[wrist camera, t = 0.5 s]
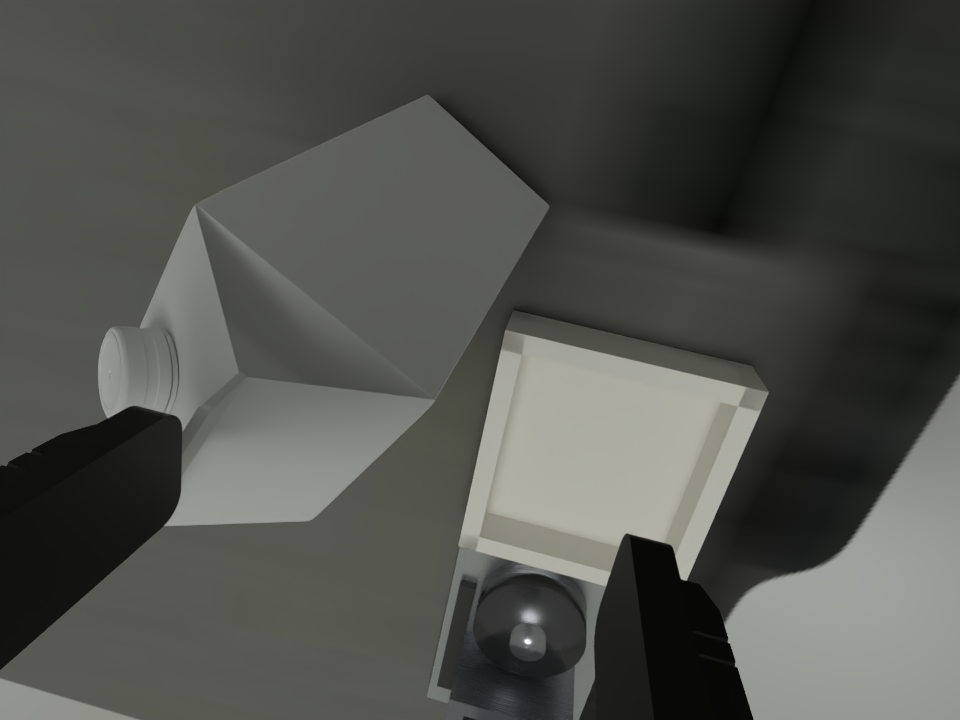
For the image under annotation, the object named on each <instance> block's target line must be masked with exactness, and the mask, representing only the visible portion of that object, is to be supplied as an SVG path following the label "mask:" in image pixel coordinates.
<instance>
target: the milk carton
mask: <svg viewBox="0 0 960 720" xmlns="http://www.w3.org/2000/svg"><path fill="white" fill-rule="evenodd" d="M548 209H549V205H548V204H547V203H546V202H545V201H544V200H543V199H542V198H541V197H540V196H539V195H537V194H536V193H535V192H534V191H533V190H532V189H531V188H530V187H529V186H528V185H527V184H525V183H524V182H523V181H522V180H521V179H520V178H519V177H518V176H517V175H516V174H514V173H513V172H512V171H511V170H510V169H509V168H508V167H507V166H506V165H505V164H504V163H502V162H501V161H500V160H499V159H498V158H497V157H496V156H495V155H494V154H493V153H492V152H490V151H489V150H488V149H487V148H486V147H485V146H484V145H483V144H482V143H481V142H480V141H478V140H477V139H476V138H475V137H474V136H473V135H472V134H471V133H470V132H469V131H468V130H466V129H465V128H464V127H463V126H462V125H461V124H460V123H459V122H458V121H457V120H456V119H454V118H453V117H452V116H451V115H450V114H449V113H448V112H447V111H446V110H445V109H443V108H442V107H441V106H440V105H439V104H438V103H437V102H436V101H435V100H434V99H433V98H431V97H430V96H429V95H425V96H423V97H421V98H419V99H417V100H414V101H412V102H410V103H408V104H406V105H404V106H402V107H399V108H397V109H395V110H393V111H391V112H389V113H387V114H384V115H382V116H380V117H378V118H376V119H374V120H372V121H369V122H367V123H365V124H363V125H361V126H359V127H357V128H354V129H352V130H350V131H348V132H346V133H344V134H342V135H339V136H337V137H335V138H333V139H331V140H329V141H327V142H324V143H322V144H320V145H318V146H316V147H314V148H312V149H309V150H307V151H305V152H303V153H301V154H299V155H297V156H294V157H292V158H290V159H288V160H286V161H284V162H282V163H279V164H277V165H275V166H273V167H271V168H269V169H267V170H264V171H262V172H260V173H258V174H256V175H254V176H252V177H249V178H247V179H245V180H243V181H241V182H239V183H237V184H234V185H232V186H230V187H228V188H226V189H224V190H222V191H220V192H218V193H216V194H214V195H212V196H210V197H208V198H206V199H204V200H202V201H201V202H199V203H197V204H196V205H195V206H194V207H193V208H192V210H191V212H190V214H189V216H188V219H187V221H186V223H185V225H184V227H183V229H182V231H181V234H180V236H179V238H178V240H177V242H176V245H175V247H174V249H173V252H172V254H171V256H170V259H169V261H168V263H167V266H166V268H165V270H164V273H163V275H162V277H161V280H160V282H159V284H158V287H157V289H156V291H155V293H154V296H153V298H152V300H151V303H150V305H149V307H148V310H147V312H146V314H145V316H144V319H143V321H142V323H141V326H140V328H136V327H121V326H114V327H112V328H111V329H109V330H108V332H107V333H106V335H105V338H104V340H103V343H102V346H101V350H100V355H99V363H98V383H99V393H100V399H101V403H102V407H103V410H104V412H105V414H106V416H107V418H109V417H111V416H113V415H115V414H117V413H119V412H120V411H122V410H124V409H126V408H128V407H130V406H140V407H143V408H147V409H151V410H155V411H159V412H163V413H167V414H171V415H174V416H177V417H178V418H179V419H180V421H181V424H182V474H181V495H180V499H179V502H178V505H177V507H176V509H175V512H174V513H173V515H172V517H171V518H170V520H169V521H168V522H167V523H166V524H165V525H164V526H182V525H210V524H239V523H267V522H296V521H310V520H312V519H313V518H314V517H316V516H317V515H318V514H319V513H320V512H321V511H322V510H323V509H324V508H326V507H327V506H328V505H329V504H330V503H331V502H332V501H333V500H334V499H335V498H336V497H337V496H338V495H339V494H340V493H341V492H342V491H343V490H344V489H345V488H346V487H347V486H349V485H350V484H351V483H352V482H353V481H354V480H355V479H356V478H357V477H358V476H359V475H360V474H361V473H362V472H363V471H364V470H365V469H366V468H367V467H368V466H369V465H370V464H372V463H373V462H374V461H375V460H376V459H377V458H378V457H379V456H380V455H381V454H382V453H383V452H384V451H385V450H386V449H387V448H388V447H389V446H390V445H391V444H392V443H393V442H394V441H396V440H397V439H398V438H399V437H400V436H401V435H402V434H403V433H404V432H405V431H406V430H407V429H408V428H409V427H410V426H411V425H412V424H413V423H414V422H415V421H416V420H417V419H418V418H419V417H421V416H422V415H423V414H424V413H425V412H426V411H427V410H428V409H429V408H430V407H431V405H432V404H433V403H434V402H435V400H436V398H437V397H438V395H439V393H440V392H441V390H442V388H443V386H444V385H445V383H446V381H447V380H448V378H449V376H450V375H451V373H452V371H453V370H454V368H455V366H456V365H457V363H458V361H459V359H460V358H461V356H462V354H463V353H464V351H465V349H466V348H467V346H468V344H469V343H470V341H471V339H472V338H473V336H474V334H475V332H476V331H477V329H478V327H479V326H480V324H481V322H482V321H483V319H484V317H485V316H486V314H487V312H488V310H489V309H490V307H491V305H492V304H493V302H494V300H495V299H496V297H497V295H498V294H499V292H500V290H501V289H502V287H503V285H504V283H505V282H506V280H507V278H508V277H509V275H510V273H511V272H512V270H513V268H514V267H515V265H516V263H517V262H518V260H519V258H520V256H521V255H522V253H523V251H524V250H525V248H526V246H527V245H528V243H529V241H530V240H531V238H532V236H533V235H534V233H535V231H536V229H537V228H538V226H539V224H540V223H541V221H542V219H543V218H544V216H545V214H546V213H547V211H548Z"/></svg>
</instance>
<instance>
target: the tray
mask: <svg viewBox="0 0 960 720" xmlns="http://www.w3.org/2000/svg"><path fill="white" fill-rule="evenodd" d="M768 393H769V392H768V390H767V389H766V387H765V386H764V384H763V382H762V381H761V379H760V378H759V376H758V374H757V373H756V371H755V370H754V368H753V366H750V365H746V364H742V363H737V362H733V361H729V360H725V359H720V358H716V357H712V356H707V355H703V354H699V353H695V352H690V351H686V350H682V349H678V348H673V347H669V346H665V345H660V344H656V343H652V342H648V341H643V340H639V339H635V338H631V337H626V336H622V335H618V334H614V333H609V332H605V331H601V330H596V329H592V328H588V327H584V326H579V325H575V324H571V323H567V322H562V321H558V320H554V319H549V318H545V317H541V316H537V315H532V314H528V313H524V312H520V311H515V310H513V312H512V314H511V317H510V319H509V322H508V324H507V327H506V329H505V334H504V338H503V343H502V347H501V352H500V357H499V361H498V366H497V370H496V375H495V380H494V384H493V389H492V393H491V398H490V403H489V407H488V412H487V416H486V421H485V426H484V430H483V435H482V439H481V444H480V449H479V453H478V458H477V462H476V467H475V472H474V476H473V481H472V485H471V490H470V495H469V499H468V504H467V508H466V513H465V518H464V522H463V527H462V531H461V536H460V541H459V545H458V546H459V547H463V548H466V549H470V550H474V551H477V552H481V553H485V554H489V555H492V556H496V557H500V558H503V559H507V560H511V561H514V562H518V563H522V564H526V565H529V566H533V567H537V568H540V569H544V570H548V571H551V572H555V573H559V574H562V575H566V576H570V577H574V578H577V579H581V580H585V581H588V582H592V583H596V584H599V585H603V586H606V585H607V582H608V579H609V576H610V573H611V570H612V567H613V564H614V561H615V558H616V555H617V552H618V549H619V546H620V543H621V541H622V538H623V537H624V535H625V534H626V533H628V534H632V535H636V536H639V537H643V538H647V539H651V540H655V541H659V542H663V543H667V544H670V545H672V547H673V550H674V553H675V557H676V562H677V566H678V570H679V574H680V578H681V579H682V580H686V581H687V578H688V576H689V574H690V571H691V569H692V567H693V565H694V562H695V560H696V558H697V555H698V553H699V551H700V549H701V546H702V544H703V542H704V539H705V537H706V535H707V533H708V530H709V528H710V526H711V523H712V521H713V519H714V517H715V514H716V512H717V510H718V508H719V505H720V503H721V501H722V498H723V496H724V494H725V492H726V489H727V487H728V485H729V482H730V480H731V478H732V476H733V473H734V471H735V469H736V466H737V464H738V462H739V460H740V457H741V455H742V453H743V450H744V448H745V446H746V444H747V441H748V439H749V437H750V434H751V432H752V430H753V428H754V425H755V423H756V421H757V418H758V416H759V414H760V412H761V409H762V407H763V405H764V402H765V400H766V398H767V396H768Z"/></svg>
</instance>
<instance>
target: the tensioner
mask: <svg viewBox="0 0 960 720" xmlns="http://www.w3.org/2000/svg"><path fill="white" fill-rule="evenodd" d="M605 588H606V586H603V585H599V584H596V583H592V582H588V581H585V580H581V579H577V578H574V577H570V576H566V575H562V574H559V573H555V572H551V571H548V570H544V569H540V568H537V567H533V566H529V565H526V564H522V563H518V562H514V561H511V560H507V559H503V558H500V557H496V556H492V555H489V554H485V553H481V552H477V551H474V550H470V549H466V548H463V547H460V549H459V553H458V558H457V563H456V567H455V572H454V576H453V581H452V585H451V590H450V595H449V599H448V604H447V608H446V613H445V617H444V622H443V626H442V631H441V636H440V640H439V645H438V649H437V654H436V658H435V663H434V668H433V672H432V677H431V681H430V686H429V690H428V695H427V697H428V698H432V699H435V700H439V701H442V702H445V703H448V706H447V711H446V715H445V719H444V720H475V719H476V720H579V718H580V715H581V713H582V710H583V708H584V705H585V702H586V700H587V697H588V695H589V692H590V689H591V687H592V684H593V682H594V679H595V661H594V635H595V626H596V620H597V615H598V611H599V607H600V603H601V600H602V597H603V594H604V591H605Z"/></svg>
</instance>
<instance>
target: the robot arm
mask: <svg viewBox="0 0 960 720" xmlns="http://www.w3.org/2000/svg"><path fill="white" fill-rule="evenodd" d="M181 474H182V424H181V421H180V419H179V418H178V417H177V416H174V415H171V414H167V413H163V412H159V411H155V410H151V409H147V408H143V407H140V406H130V407H128V408H126V409H124V410H122V411H120V412H119V413H117V414H115V415H113V416H111V417H109V418H108V419H106V420H104V421H102V422H100V423H98V424H97V425H96V424H95V425H92V426H88V427H85V428H81V429H78V430H74V431H71V432H67V433H64V434H61V435H59V436H57V437H55V438H53V439H51V440H49V441H47V442H45V443H43V444H42V445H40V446H38V447H36V448H34V449H32V452H31V453H27V452H26V453H25V454H23V455H21V456H19V457H17V458H15V459H13V460H11V461H9V462H8V465H7V466H3V465H2V466H0V670H1V669H2V668H3V667H4V666H5V665H6V664H8V663H9V662H10V661H11V660H12V659H13V658H14V657H15V656H17V655H18V654H19V653H20V652H21V651H22V650H23V649H25V648H26V647H27V646H28V645H29V644H30V643H31V642H33V641H34V640H35V639H36V638H37V637H38V636H39V635H40V634H42V633H43V632H44V631H45V630H46V629H47V628H48V627H50V626H51V625H52V624H53V623H54V622H55V621H56V620H58V619H59V618H60V617H61V616H62V615H63V614H64V613H65V612H67V611H68V610H69V609H70V608H71V607H72V606H73V605H75V604H76V603H77V602H78V601H79V600H80V599H81V598H82V597H84V596H85V595H86V594H87V593H88V592H89V591H90V590H92V589H93V588H94V587H95V586H96V585H97V584H98V583H100V582H101V581H102V580H103V579H104V578H105V577H106V576H107V575H109V574H110V573H111V572H112V571H113V570H114V569H115V568H117V567H118V566H119V565H120V564H121V563H122V562H123V561H125V560H126V559H127V558H128V557H129V556H130V555H131V554H132V553H134V552H135V551H136V550H137V549H138V548H139V547H140V546H142V545H143V544H144V543H145V542H146V541H147V540H148V539H150V538H151V537H152V536H153V535H154V534H155V533H156V532H157V531H159V530H160V529H161V528H162V527H163V526H164V525H165V524H166V523H167V522H168V521H169V520H170V518H171V517H172V515H173V513H174V512H175V509H176V507H177V505H178V502H179V499H180V495H181ZM594 661H595V695H596V720H753V716H752V713H751V710H750V707H749V704H748V701H747V697H746V694H745V691H744V688H743V684H742V681H741V678H740V675H739V671H738V668H737V667H735V659H734V655H733V652H732V649H731V646H730V644H729V643H728V636H727V633H726V630H725V626H724V623H723V620H722V617H721V614H720V611H719V609H718V608H717V607H716V605H715V604H714V603H713V601H712V600H711V599H710V597H709V596H708V595H707V593H706V592H705V591H704V590H703V588H702V587H701V586H700V584H697V583H693V582H689V581H686V580H682V579H681V578H680V574H679V570H678V566H677V562H676V557H675V553H674V550H673V547H672V545H670V544H667V543H663V542H659V541H655V540H651V539H647V538H643V537H639V536H636V535H632V534H628V533H626V534H625V535H624V537H623V538H622V541H621V543H620V546H619V549H618V552H617V555H616V558H615V561H614V564H613V567H612V570H611V573H610V576H609V579H608V582H607V585H606V588H605V591H604V594H603V597H602V600H601V603H600V607H599V611H598V615H597V620H596V626H595V635H594Z"/></svg>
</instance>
